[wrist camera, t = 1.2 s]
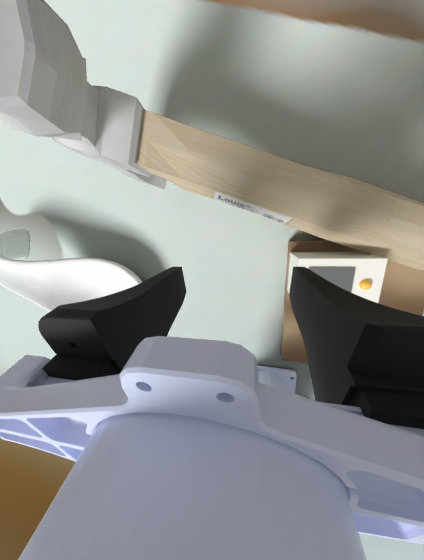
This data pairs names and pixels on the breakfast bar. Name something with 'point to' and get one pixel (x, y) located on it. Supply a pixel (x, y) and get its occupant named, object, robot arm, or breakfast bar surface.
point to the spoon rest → (58, 275)
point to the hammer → (185, 146)
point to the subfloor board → (394, 293)
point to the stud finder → (344, 270)
